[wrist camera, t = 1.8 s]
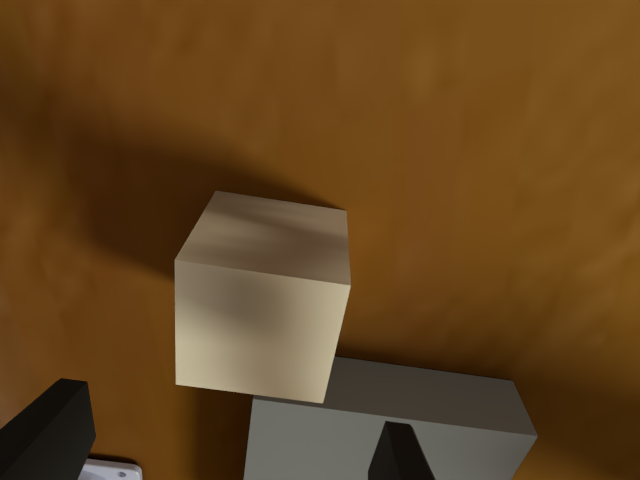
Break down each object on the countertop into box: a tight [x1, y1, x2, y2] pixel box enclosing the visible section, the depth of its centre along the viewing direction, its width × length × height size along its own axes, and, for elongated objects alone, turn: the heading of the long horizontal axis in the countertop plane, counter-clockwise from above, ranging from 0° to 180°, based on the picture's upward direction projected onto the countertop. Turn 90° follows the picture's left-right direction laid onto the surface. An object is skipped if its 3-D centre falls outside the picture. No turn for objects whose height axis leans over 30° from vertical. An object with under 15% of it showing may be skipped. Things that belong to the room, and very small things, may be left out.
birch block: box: [175, 191, 351, 403], centre depth 16 cm, size 5×5×5 cm
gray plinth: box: [244, 356, 538, 480], centre depth 22 cm, size 12×12×3 cm
